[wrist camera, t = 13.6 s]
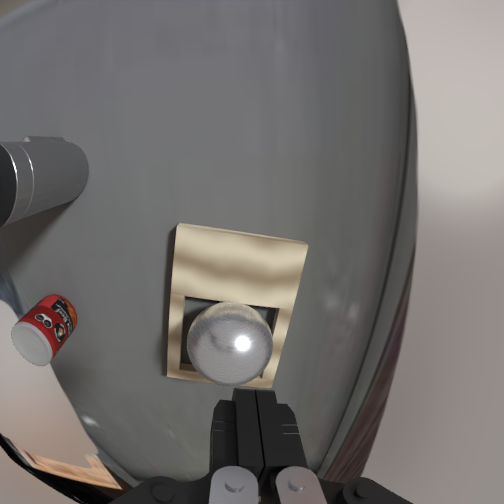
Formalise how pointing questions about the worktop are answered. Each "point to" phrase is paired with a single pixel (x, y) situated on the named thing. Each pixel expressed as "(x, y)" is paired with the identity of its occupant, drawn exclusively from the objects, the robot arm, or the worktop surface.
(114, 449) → the worktop surface
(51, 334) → the canned food
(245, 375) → the ball
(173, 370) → the hole board
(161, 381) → the worktop surface
